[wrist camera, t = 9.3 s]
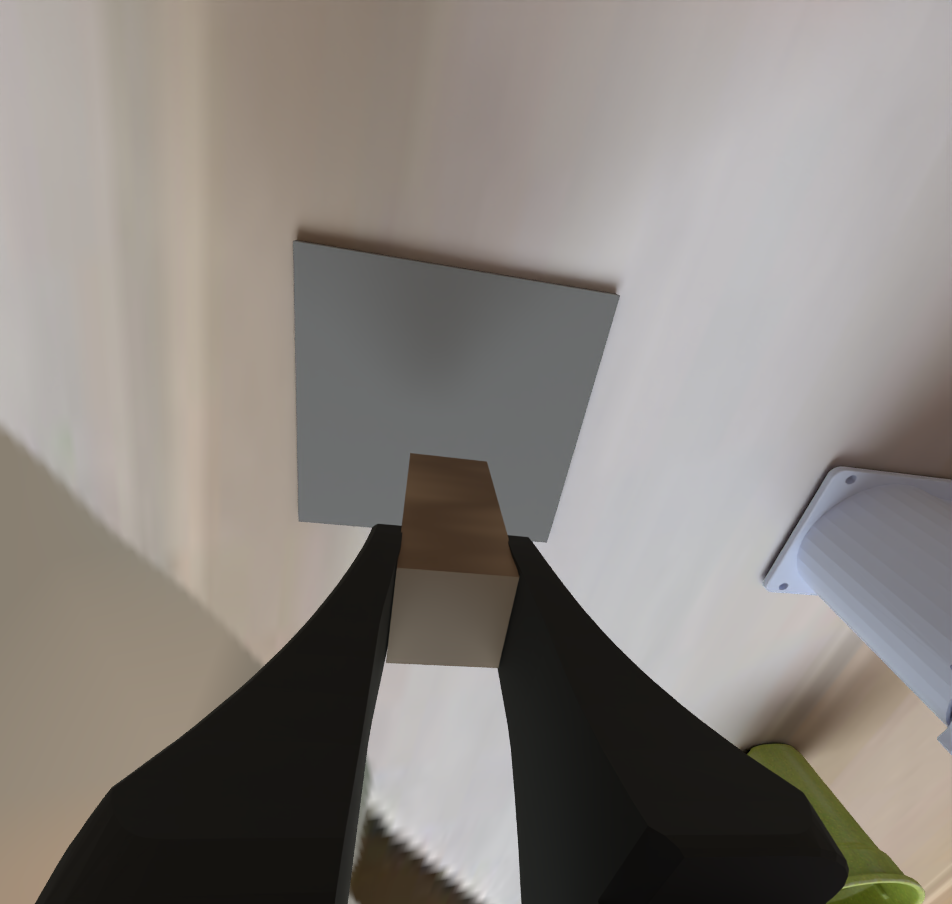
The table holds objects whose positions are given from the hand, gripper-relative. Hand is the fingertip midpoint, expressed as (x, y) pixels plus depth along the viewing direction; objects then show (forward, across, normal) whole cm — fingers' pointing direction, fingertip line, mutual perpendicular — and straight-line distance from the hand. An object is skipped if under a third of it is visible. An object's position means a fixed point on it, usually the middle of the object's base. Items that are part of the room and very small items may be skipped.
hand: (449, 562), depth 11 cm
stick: (+4, 0, +1) cm, 4 cm away
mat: (+9, 0, 0) cm, 9 cm away
